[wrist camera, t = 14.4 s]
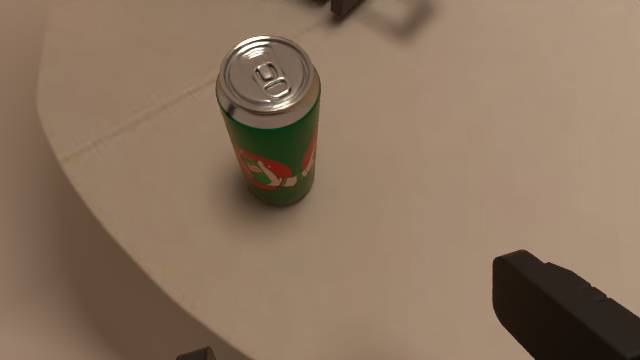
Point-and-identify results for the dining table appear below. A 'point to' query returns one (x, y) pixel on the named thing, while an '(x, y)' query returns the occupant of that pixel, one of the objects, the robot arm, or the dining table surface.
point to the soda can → (271, 115)
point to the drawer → (342, 6)
